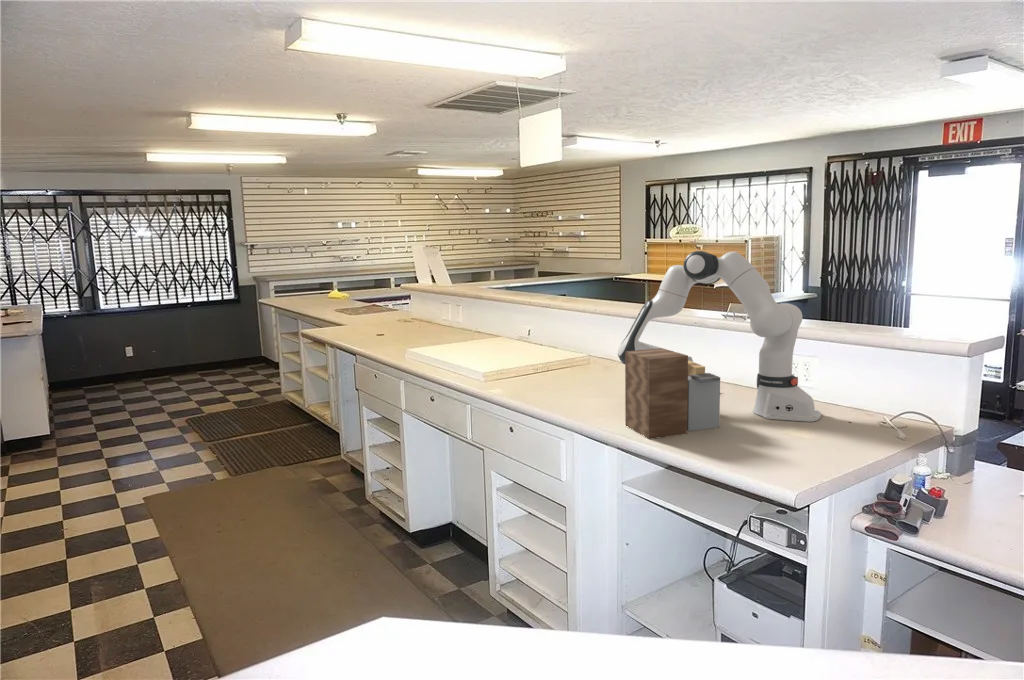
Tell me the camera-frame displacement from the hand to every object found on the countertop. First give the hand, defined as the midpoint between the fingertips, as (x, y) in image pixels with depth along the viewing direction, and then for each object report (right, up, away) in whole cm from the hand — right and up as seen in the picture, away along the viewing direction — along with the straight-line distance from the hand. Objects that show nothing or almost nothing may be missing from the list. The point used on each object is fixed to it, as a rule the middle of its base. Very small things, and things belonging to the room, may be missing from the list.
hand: (675, 358), depth 233 cm
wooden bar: (+2, -4, -6) cm, 8 cm away
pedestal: (-10, -24, -12) cm, 29 cm away
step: (+4, -22, -6) cm, 24 cm away
